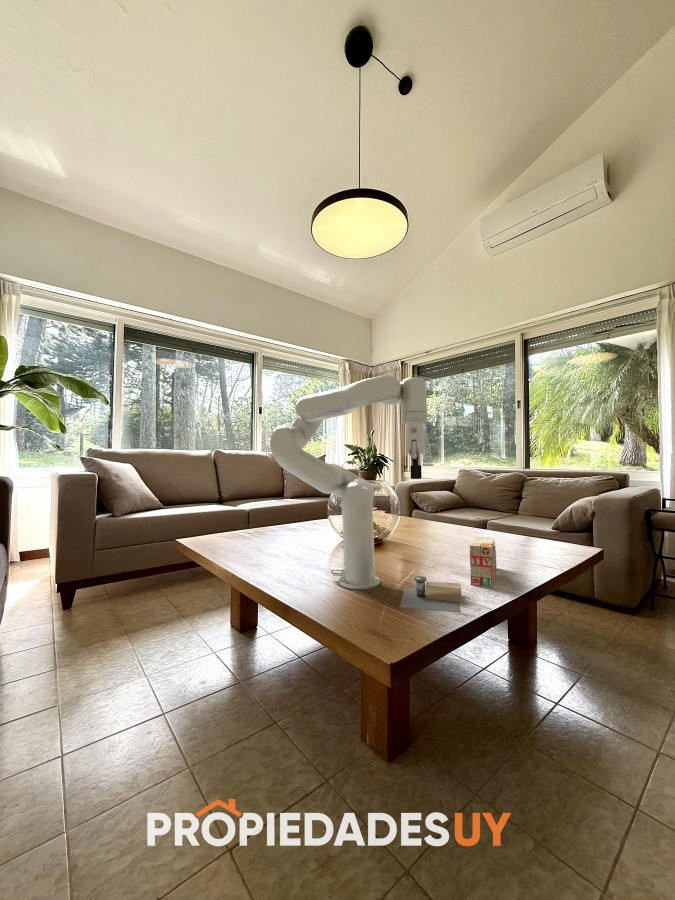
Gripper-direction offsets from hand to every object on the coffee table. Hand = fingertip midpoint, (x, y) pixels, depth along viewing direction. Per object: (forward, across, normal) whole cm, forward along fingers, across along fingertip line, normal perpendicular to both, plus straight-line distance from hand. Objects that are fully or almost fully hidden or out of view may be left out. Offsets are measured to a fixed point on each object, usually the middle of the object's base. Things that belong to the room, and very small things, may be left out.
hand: (416, 478), depth 114 cm
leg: (+32, -11, -7) cm, 34 cm away
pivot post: (+32, -10, -1) cm, 33 cm away
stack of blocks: (+32, +12, -20) cm, 40 cm away
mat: (+32, -12, -4) cm, 34 cm away
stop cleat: (+32, -7, -8) cm, 34 cm away
